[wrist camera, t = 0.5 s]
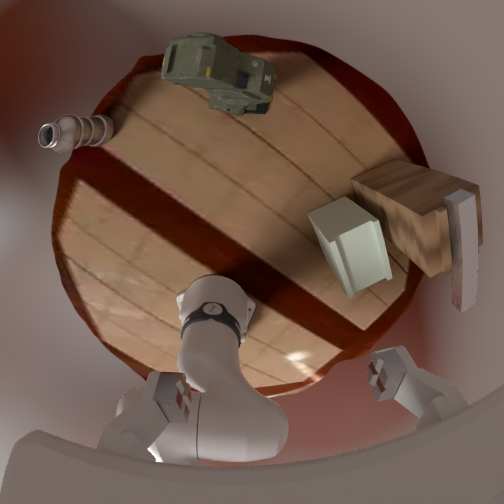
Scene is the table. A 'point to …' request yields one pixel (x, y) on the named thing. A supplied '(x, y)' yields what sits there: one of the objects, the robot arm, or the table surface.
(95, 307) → the table surface
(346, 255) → the shelf block
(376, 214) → the wood grain block
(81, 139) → the plastic bottle
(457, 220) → the link bar
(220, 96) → the mechanical leg
